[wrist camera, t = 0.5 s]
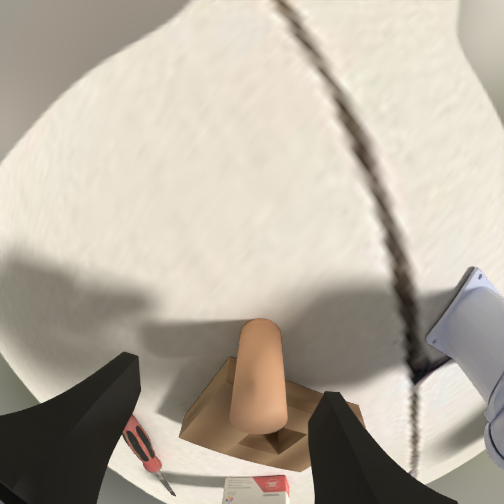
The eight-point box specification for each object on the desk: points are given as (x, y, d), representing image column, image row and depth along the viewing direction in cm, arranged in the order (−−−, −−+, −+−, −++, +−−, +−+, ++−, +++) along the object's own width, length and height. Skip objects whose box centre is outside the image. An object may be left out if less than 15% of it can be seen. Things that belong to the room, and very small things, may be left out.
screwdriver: (184, 490, 32) (181, 504, 29) (168, 487, 32) (164, 500, 29) (141, 409, 24) (132, 429, 21) (118, 404, 24) (108, 423, 21)
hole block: (358, 405, 22) (365, 427, 20) (298, 452, 25) (300, 472, 22) (229, 356, 21) (225, 381, 18) (184, 415, 23) (178, 437, 21)
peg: (288, 329, 20) (299, 413, 12) (267, 356, 21) (267, 439, 13) (253, 311, 19) (247, 395, 12) (233, 340, 20) (219, 423, 13)
